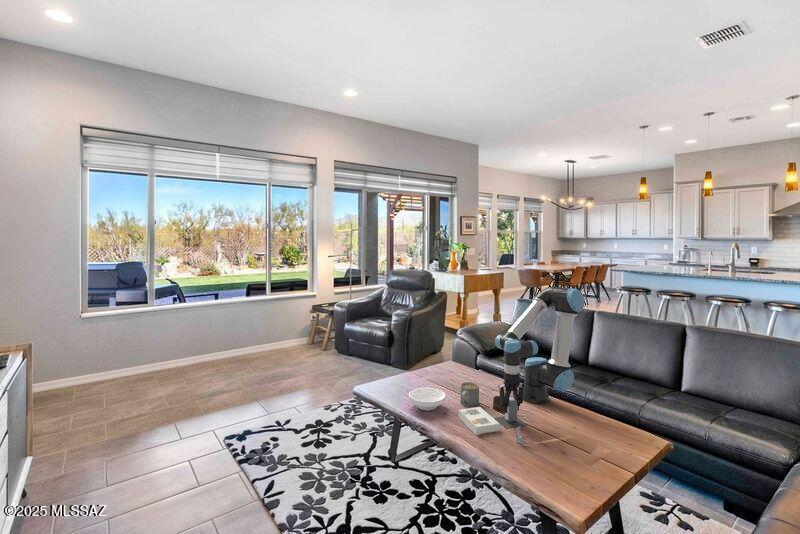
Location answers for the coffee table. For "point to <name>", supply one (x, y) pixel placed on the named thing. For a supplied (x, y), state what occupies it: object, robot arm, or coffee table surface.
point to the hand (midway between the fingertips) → (510, 418)
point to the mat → (507, 424)
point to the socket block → (478, 420)
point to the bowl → (427, 398)
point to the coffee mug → (469, 394)
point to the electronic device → (497, 404)
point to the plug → (512, 409)
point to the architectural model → (518, 438)
